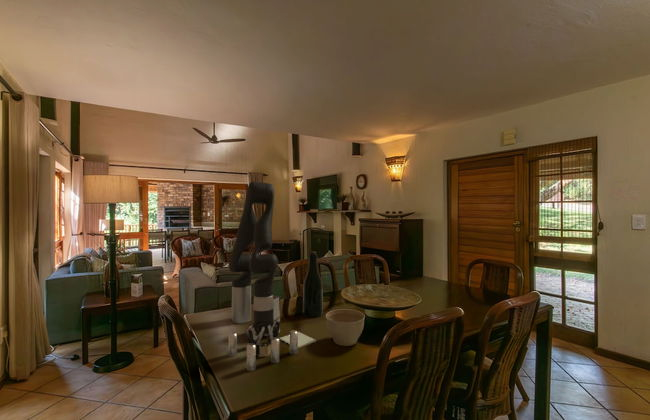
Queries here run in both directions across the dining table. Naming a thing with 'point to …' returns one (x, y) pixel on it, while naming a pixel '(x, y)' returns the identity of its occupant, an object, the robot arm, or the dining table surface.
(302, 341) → the pad
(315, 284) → the beer bottle
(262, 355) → the brass nut
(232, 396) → the dining table surface
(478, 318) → the dining table surface
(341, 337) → the planter bowl
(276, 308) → the coffee box
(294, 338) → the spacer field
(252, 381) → the dining table surface
